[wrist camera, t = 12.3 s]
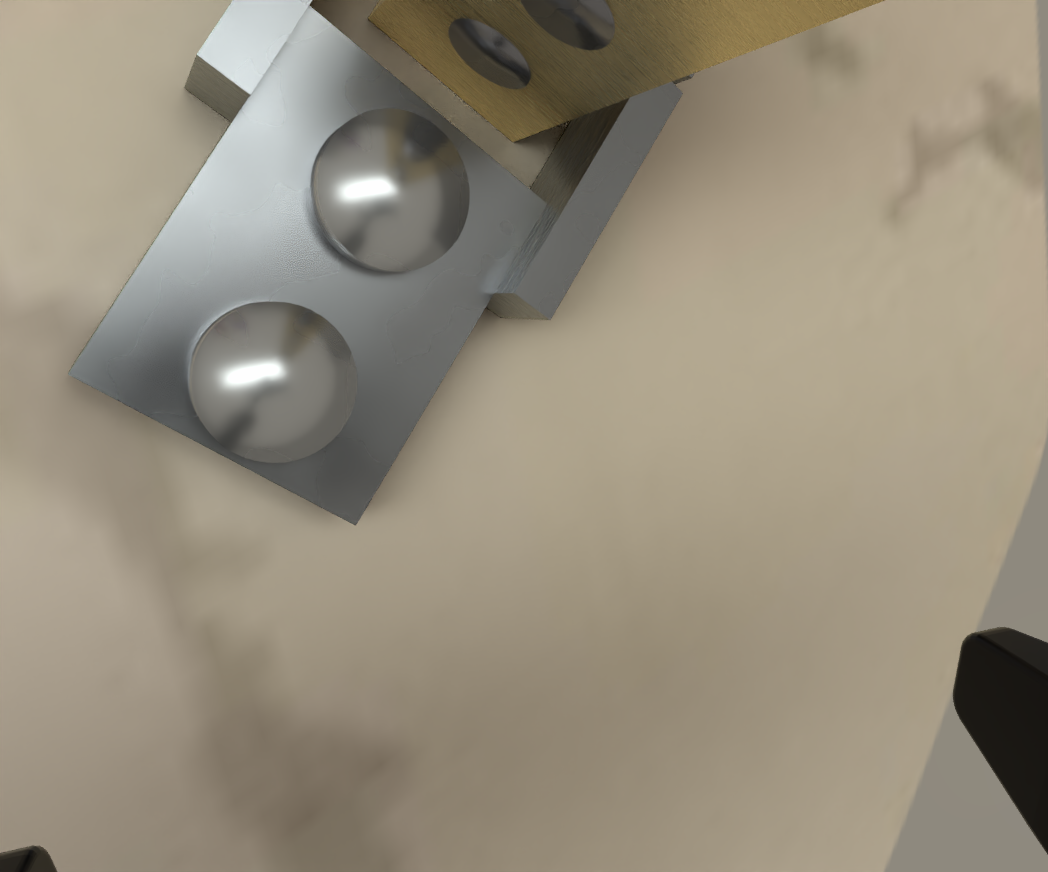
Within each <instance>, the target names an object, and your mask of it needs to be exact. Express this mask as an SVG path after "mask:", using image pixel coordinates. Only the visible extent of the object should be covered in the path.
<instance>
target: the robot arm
mask: <svg viewBox="0 0 1048 872" xmlns="http://www.w3.org/2000/svg"><path fill="white" fill-rule="evenodd" d="M953 702H954V706H955V709H956V712H957V714H958V716H959V718H960V720H961V722H962V723H963V725H964V726H965V728H966V729H967V731H968V732H969V734H970V736H971V737H972V739H973V740H974V742H975V743H976V745H977V746H978V748H979V749H980V751H981V753H982V754H983V756H984V757H985V759H986V761H987V762H988V764H989V765H990V767H991V768H992V770H993V771H994V773H995V774H996V776H997V778H998V779H999V781H1000V782H1001V784H1002V785H1003V787H1004V788H1005V790H1006V792H1007V793H1008V795H1009V796H1010V798H1011V800H1012V801H1013V803H1014V804H1015V806H1016V807H1017V809H1018V810H1019V812H1020V813H1021V815H1022V817H1023V818H1024V820H1025V821H1026V823H1027V824H1028V826H1029V827H1030V829H1031V830H1032V832H1033V833H1034V835H1035V836H1036V838H1037V839H1038V841H1039V842H1040V844H1041V845H1042V847H1043V848H1044V850H1045V851H1046V852H1047V854H1048V643H1047V642H1044V641H1042V640H1039V639H1037V638H1034V637H1032V636H1029V635H1026V634H1024V633H1021V632H1019V631H1016V630H1014V629H1010V628H1006V627H997V628H993V629H988V630H984V631H980V632H975V633H971V634H970V635H968V636H967V637H966V638H965V639H964V641H963V643H962V646H961V651H960V656H959V662H958V667H957V673H956V678H955V683H954V689H953ZM0 872H57V870H56V868H55V866H54V864H53V861H52V859H51V857H50V855H49V854H48V852H47V851H46V850H45V849H44V848H43V847H41V846H29V847H25V848H21V849H16V850H12V851H7V852H3V853H0Z"/></svg>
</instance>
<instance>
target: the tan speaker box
mask: <svg viewBox="0 0 1048 872" xmlns="http://www.w3.org/2000/svg"><path fill="white" fill-rule="evenodd" d="M882 1H884V0H379V2H378V3H377V5H376V6H375V8H374V10H373V11H372V13H371V14H370V16H369V17H368V19H369V20H370V21H371V22H372V23H373V24H375V25H376V26H377V27H378V28H379V29H380V30H382V31H383V32H384V33H385V34H386V35H387V36H389V37H390V38H391V39H392V40H393V41H395V42H396V43H397V44H398V45H399V46H400V47H402V48H403V49H404V50H405V51H406V52H407V53H409V54H410V55H411V56H412V57H413V58H414V59H416V60H417V61H418V62H419V63H420V64H422V65H423V66H424V67H425V68H426V69H427V70H429V71H430V72H431V73H432V74H433V75H434V76H436V77H437V78H438V79H439V80H440V81H442V82H443V83H444V84H445V85H446V86H447V87H449V88H450V89H451V90H452V91H453V92H454V93H456V94H457V95H458V96H459V97H460V98H461V99H463V100H464V101H465V102H466V103H467V104H469V105H470V106H471V107H472V108H473V109H474V110H476V111H477V112H478V113H479V114H480V115H481V116H483V117H484V118H485V119H486V120H487V121H488V122H490V123H491V124H492V125H493V126H494V127H496V128H497V129H498V130H499V131H500V132H501V133H503V134H504V135H505V136H506V137H507V138H508V139H510V140H511V141H512V142H515V141H517V140H520V139H523V138H525V137H528V136H530V135H533V134H536V133H538V132H541V131H543V130H546V129H549V128H551V127H554V126H557V125H559V124H562V123H564V122H567V121H570V120H572V119H575V118H578V117H580V116H583V115H585V114H588V113H591V112H593V111H596V110H599V109H601V108H604V107H606V106H609V105H612V104H614V103H617V102H620V101H622V100H625V99H627V98H630V97H633V96H635V95H638V94H640V93H643V92H646V91H648V90H651V89H654V88H656V87H659V86H661V85H664V84H667V83H669V82H672V81H675V80H677V79H680V78H682V77H685V76H688V75H690V74H693V73H696V72H698V71H701V70H703V69H706V68H709V67H711V66H714V65H717V64H719V63H722V62H724V61H727V60H730V59H732V58H735V57H738V56H740V55H743V54H745V53H748V52H751V51H753V50H756V49H758V48H761V47H764V46H766V45H769V44H772V43H774V42H777V41H779V40H782V39H785V38H787V37H790V36H793V35H795V34H798V33H800V32H803V31H806V30H808V29H811V28H814V27H816V26H819V25H821V24H824V23H827V22H829V21H832V20H835V19H837V18H840V17H842V16H845V15H848V14H850V13H853V12H855V11H858V10H861V9H863V8H866V7H869V6H871V5H874V4H876V3H879V2H882Z"/></svg>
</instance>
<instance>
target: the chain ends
mask: <svg viewBox="0 0 1048 872" xmlns="http://www.w3.org/2000/svg"><path fill="white" fill-rule="evenodd" d="M311 2H312V0H233V1H232V2H231V4H230V5H229V7H228V8H227V10H226V11H225V13H224V14H223V16H222V17H221V19H220V20H219V22H218V23H217V25H216V26H215V28H214V29H213V31H212V32H211V34H210V35H209V37H208V38H207V40H206V41H205V43H204V44H203V46H202V47H201V49H200V50H199V52H198V53H197V55H196V58H195V61H194V63H193V66H192V69H191V71H190V74H189V77H188V79H187V82H186V85H185V87H184V88H185V89H186V90H188V91H189V92H190V93H192V94H193V95H195V96H196V97H197V98H199V99H200V100H201V101H203V102H204V103H206V104H207V105H208V106H210V107H211V108H212V109H214V110H215V111H217V112H218V113H219V114H221V115H222V116H224V117H225V118H226V119H228V120H229V121H230V122H231V123H230V125H229V126H228V128H227V129H226V131H225V132H224V134H223V136H222V137H221V139H220V140H219V142H218V143H217V145H216V146H215V148H214V149H213V151H212V152H211V154H210V155H209V157H208V159H207V160H206V162H205V163H204V165H203V166H202V168H201V169H200V171H199V172H198V174H197V175H196V177H195V178H194V180H193V182H192V183H191V185H190V186H189V188H188V189H187V191H186V192H185V194H184V195H183V197H182V198H181V200H180V202H179V203H178V205H177V206H176V208H175V209H174V211H173V212H172V214H171V215H170V217H169V218H168V220H167V221H166V223H165V225H164V226H163V228H162V229H161V231H160V232H159V234H158V235H157V237H156V238H155V240H154V241H153V243H152V244H151V246H150V248H149V249H148V251H147V252H146V254H145V255H144V257H143V258H142V260H141V261H140V263H139V264H138V266H137V267H136V269H135V271H134V272H133V274H132V275H131V277H130V278H129V280H128V281H127V283H126V284H125V286H124V287H123V289H122V290H121V292H120V294H119V295H118V297H117V298H116V300H115V301H114V303H113V304H112V306H111V307H110V309H109V310H108V312H107V313H106V315H105V317H104V318H103V320H102V321H101V323H100V324H99V326H98V327H97V329H96V330H95V332H94V333H93V335H92V336H91V338H90V340H89V341H88V343H87V344H86V346H85V347H84V349H83V350H82V352H81V353H80V355H79V356H78V358H77V359H76V361H75V363H74V364H73V366H72V367H71V369H70V371H69V373H68V375H70V376H72V377H74V378H76V379H78V380H80V381H82V382H84V383H85V384H87V385H89V386H91V387H93V388H95V389H97V390H99V391H101V392H103V393H105V394H106V395H108V396H110V397H112V398H114V399H116V400H118V401H120V402H122V403H124V404H125V405H127V406H129V407H131V408H133V409H135V410H137V411H139V412H141V413H143V414H144V415H146V416H148V417H150V418H152V419H154V420H156V421H158V422H160V423H162V424H163V425H165V426H167V427H169V428H171V429H173V430H175V431H177V432H179V433H181V434H182V435H184V436H186V437H188V438H190V439H192V440H194V441H196V442H198V443H200V444H202V445H203V446H205V447H207V448H209V449H211V450H213V451H215V452H217V453H219V454H221V455H222V456H224V457H226V458H228V459H230V460H232V461H234V462H236V463H238V464H240V465H241V466H243V467H245V468H247V469H249V470H251V471H253V472H255V473H257V474H259V475H260V476H262V477H264V478H266V479H268V480H270V481H272V482H274V483H276V484H278V485H279V486H281V487H283V488H285V489H287V490H289V491H291V492H293V493H295V494H297V495H299V496H300V497H302V498H304V499H306V500H308V501H310V502H312V503H314V504H316V505H318V506H319V507H321V508H323V509H325V510H327V511H329V512H331V513H333V514H335V515H337V516H338V517H340V518H342V519H344V520H346V521H348V522H350V523H352V524H354V525H356V524H357V523H358V521H359V519H360V518H361V516H362V514H363V513H364V511H365V509H366V508H367V506H368V504H369V502H370V501H371V499H372V497H373V496H374V494H375V492H376V491H377V489H378V487H379V486H380V484H381V482H382V481H383V479H384V477H385V476H386V474H387V472H388V471H389V469H390V467H391V466H392V464H393V462H394V460H395V459H396V457H397V455H398V454H399V452H400V450H401V449H402V447H403V445H404V444H405V442H406V440H407V439H408V437H409V435H410V434H411V432H412V430H413V429H414V427H415V425H416V424H417V422H418V420H419V418H420V417H421V415H422V413H423V412H424V410H425V408H426V407H427V405H428V403H429V402H430V400H431V398H432V397H433V395H434V393H435V392H436V390H437V388H438V387H439V385H440V383H441V382H442V380H443V378H444V376H445V375H446V373H447V371H448V370H449V368H450V366H451V365H452V363H453V361H454V360H455V358H456V356H457V355H458V353H459V351H460V350H461V348H462V346H463V345H464V343H465V341H466V340H467V338H468V336H469V335H470V333H471V331H472V329H473V328H474V326H475V324H476V323H477V321H478V319H479V318H480V316H481V314H482V313H483V311H484V309H485V308H488V309H489V310H491V311H492V312H493V313H495V314H496V315H497V316H499V317H500V318H519V319H539V320H551V318H552V316H553V314H554V313H555V311H556V309H557V308H558V306H559V304H560V302H561V301H562V299H563V297H564V296H565V294H566V292H567V290H568V289H569V287H570V285H571V284H572V282H573V280H574V278H575V277H576V275H577V273H578V272H579V270H580V268H581V267H582V265H583V263H584V261H585V260H586V258H587V256H588V255H589V253H590V251H591V249H592V248H593V246H594V244H595V243H596V241H597V239H598V237H599V236H600V234H601V232H602V231H603V229H604V227H605V225H606V224H607V222H608V220H609V219H610V217H611V215H612V213H613V212H614V210H615V208H616V207H617V205H618V203H619V201H620V200H621V198H622V196H623V195H624V193H625V191H626V190H627V188H628V186H629V184H630V183H631V181H632V179H633V178H634V176H635V174H636V172H637V171H638V169H639V167H640V166H641V164H642V162H643V160H644V159H645V157H646V155H647V154H648V152H649V150H650V148H651V147H652V145H653V143H654V142H655V140H656V138H657V136H658V135H659V133H660V131H661V130H662V128H663V126H664V125H665V123H666V121H667V119H668V118H669V116H670V114H671V113H672V111H673V109H674V107H675V106H676V104H677V102H678V101H679V99H680V97H681V95H682V94H683V93H682V92H681V91H680V90H679V89H678V88H677V87H676V86H675V85H674V84H677V83H680V82H682V81H685V80H688V79H690V78H692V77H693V75H694V73H693V74H690V75H688V76H685V77H682V78H680V79H677V80H675V81H672V82H669V83H667V84H664V85H661V86H659V87H656V88H654V89H651V90H648V91H646V92H643V93H640V94H638V95H635V96H633V97H630V98H627V99H625V100H622V101H620V102H617V103H614V104H612V105H609V106H606V107H604V108H601V109H599V110H596V111H593V112H591V113H588V114H585V115H583V116H580V117H578V118H575V119H572V120H571V121H570V123H569V125H568V126H567V128H566V130H565V131H564V133H563V135H562V137H561V138H560V140H559V142H558V143H557V145H556V147H555V148H554V150H553V152H552V153H551V155H550V157H549V158H548V160H547V162H546V163H545V165H544V167H543V168H542V170H541V172H540V173H539V175H538V177H537V178H536V180H535V182H534V183H533V185H532V187H531V188H530V189H529V188H528V187H526V186H525V185H524V184H523V183H522V182H520V181H519V180H518V179H517V178H516V177H514V176H513V175H512V174H511V173H510V172H508V171H507V170H506V169H505V168H504V167H502V166H501V165H500V164H499V163H498V162H496V161H495V160H494V159H493V158H492V157H490V156H489V155H488V154H487V153H486V152H484V151H483V150H482V149H481V148H480V147H478V146H477V145H476V144H475V143H474V142H472V141H471V140H470V139H469V138H468V137H466V136H465V135H464V134H463V133H462V132H460V131H459V130H458V129H457V128H456V127H454V126H453V125H452V124H451V123H450V122H449V121H447V120H446V119H445V118H444V117H443V116H441V115H440V114H439V113H438V112H437V111H435V110H434V109H433V108H432V107H431V106H429V105H428V104H427V103H426V102H425V101H423V100H422V99H421V98H420V97H419V96H417V95H416V94H415V93H414V92H413V91H411V90H410V89H409V88H408V87H407V86H405V85H404V84H403V83H402V82H401V81H399V80H398V79H397V78H396V77H395V76H393V75H392V74H391V73H390V72H389V71H387V70H386V69H385V68H384V67H383V66H381V65H380V64H379V63H378V62H377V61H375V60H374V59H373V58H372V57H371V56H369V55H368V54H367V53H366V52H365V51H363V50H362V49H361V48H360V47H359V46H357V45H356V44H355V43H354V42H353V41H351V40H350V39H349V38H348V37H347V36H345V35H344V34H343V33H342V32H341V31H339V30H338V29H337V28H336V27H335V26H333V25H332V24H331V23H330V22H329V21H327V20H326V19H325V18H324V17H323V16H321V15H320V14H319V13H318V12H317V11H315V10H314V9H313V8H312V7H311V6H309V5H310V3H311Z"/></svg>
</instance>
